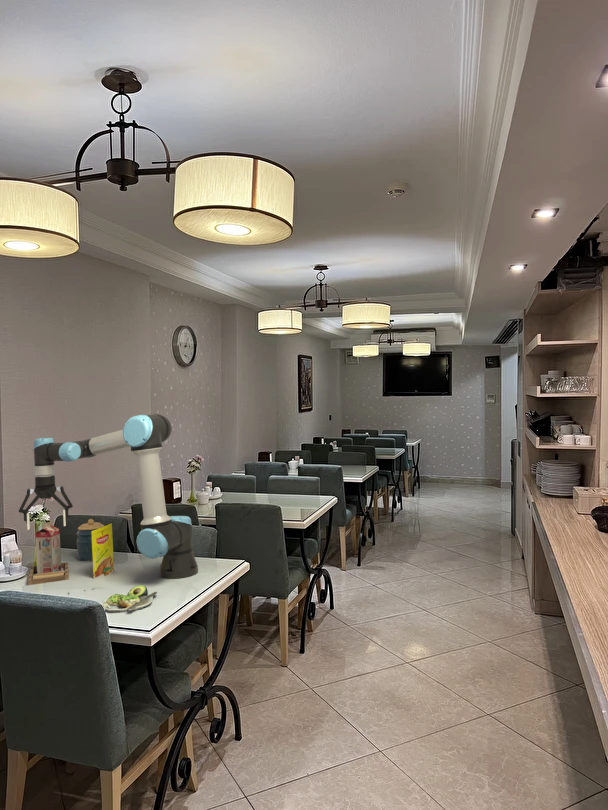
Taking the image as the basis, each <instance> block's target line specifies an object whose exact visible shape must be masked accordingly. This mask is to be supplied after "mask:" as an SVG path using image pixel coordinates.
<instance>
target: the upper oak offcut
mask: <svg viewBox="0 0 608 810" xmlns="http://www.w3.org/2000/svg"><path fill="white" fill-rule="evenodd" d="M62 575H65V570H61V571H58V572H50V573H42V574H37V573H34V576H33V580H34V579H41V578H48V577H55V576H62Z"/></svg>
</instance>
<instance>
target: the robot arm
mask: <svg viewBox="0 0 608 810" xmlns="http://www.w3.org/2000/svg"><path fill="white" fill-rule="evenodd" d="M172 428H173V426H172V424H171V421H170V420H169V418H168V417H166V416H165V415H163V414H159V413H157V414H156V413H155V414H139V415H133V416H131V417H130V418H129V419H128V420H127V421H126V422H125V423H124V425H123V428H122V429H119V430H116V431H112V432H109V433H105V434H103V435H98V436H95V437H91V438H88V439H82V440H77V441H66V442H55V441H54V438H53V437H40V438H35V439H34V440H33V449H32V450H33V457H34V459H33V460H34V465H33V467H34V475H35V477H34V485H35V486H34V488H30V487H29V488H27V489H26V495H25V497H24V499H23V501H22V503H21V506H19V508H18V513H20V514H21V513H22V514H23V521H24V522H26V527H27V528H26V529H27V531H30V530H31V525H30V524H31V523H30V512H29V511H30V510H31V509H32V507H33V506H34V505H35V504H36V502H37V501H38V500H39V499H42V500H43V499H51V498H53V499H54V500H55V501H56V502H57V503H58V504H59V505H60V506H61V507H62V508H63V509H62V515H63V527H66V525H67V523H66V522H67V521H66V518H69V509H72V508H73V507H74V505H73V503H72V502H71V500H70V498H69V497H68V494H67V493H66V491H65V489H64V486H63V485H60V486H56V476H55V473H56V471H55V470H56V469H55V467H56V466H55V462H68V463H69V462H75V461H77V460H81V459H89V458H94V457H96V456H98V455H102V454H105V453H110V452H113V451H118V450H122V449H125V448H129V447H130V453H131V454H133V455H134V456H135V458H136V459H135V460H136V461H135V462H136V467H137V468H136V469H137V477H138V483H139V490H140V491H139V492H140V498H141V507H142V515H143V519H142V520H141V522H140V524H139V525H140V531H139V533H138V535H137V536H136V542H135V543H136V547H137V549H138V551H139V552H140V554H142V555H143V556H144V557H145V558H148V559H152V560H153V559H158V558H162V560H161V564H160V568H159V577H161V578H163V577H165V578H164V579H181V578H186V577H191V576H194V575H196V574H198V573H199V565H198V563H197V560H196V558H195V555H194V550H193V549H194V548H193V547H194V546H193V525H192V519H191V518H190V516H187V515H168V513H167V508H166V505H167V504H166V500H165V490H164V482H163V475H162V468H161V459H160V452H161V450H162V449H163V445H162V443H164V442H166V441H167V440H168V439H169V438H170V437H171V434H172V431H173V429H172ZM57 491H58V492H60V493H61V496H62V497H63V498H64V500H65V501H66V503H67V504H66V503H65V502H64V501H63V500H62V499H61V498H60V497H59V496H58V495H56V494H55V493H56V492H57ZM33 493H35V494H36V496H35V497H34V498H33V500H32V501H31V502H30V503H29V504H28V505H27V507H26V508H25V506H26V504H27V501H28V500H29V498H30V496H31V495H32V494H33ZM24 508H25V509H24Z"/></svg>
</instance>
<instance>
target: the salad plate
mask: <svg viewBox="0 0 608 810" xmlns="http://www.w3.org/2000/svg"><path fill="white" fill-rule="evenodd" d="M157 594H158V591H153V592H150V591H149V590H148V587H147V586H146V585H143V584H142V585H137V586H134V587H132V588H131V589H129V590H128V592H127V593H116V594H113V595H110V596H107V597H106V598H105V599H104V600H103V603H102V607H103V606H104V608H105V611H106V612H108V611H109V613H124V612H126V611H127V612H134V611H136V610H140V609H143V608H146V607H148V606H151V604H152V602H153V598H154V597H155V596H156V595H157ZM109 605H110V606H111V605H114V607H121V608H111V607H110V608H109V607H108V606H109Z"/></svg>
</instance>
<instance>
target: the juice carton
mask: <svg viewBox="0 0 608 810" xmlns="http://www.w3.org/2000/svg"><path fill="white" fill-rule="evenodd" d="M60 531H61V530H60V528H58V527H56V526H54V525H53V521H49V522H47V523H44V524H42V528H41V529H40V530H38V531H37V532H35V550H36V551H35V553H36V566H37V572H36V574H42V573H50V572H58V571H62V568H61V563H62V556H61V555H62V553H61V536H60V535H61V534H60V533H61V532H60Z"/></svg>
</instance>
